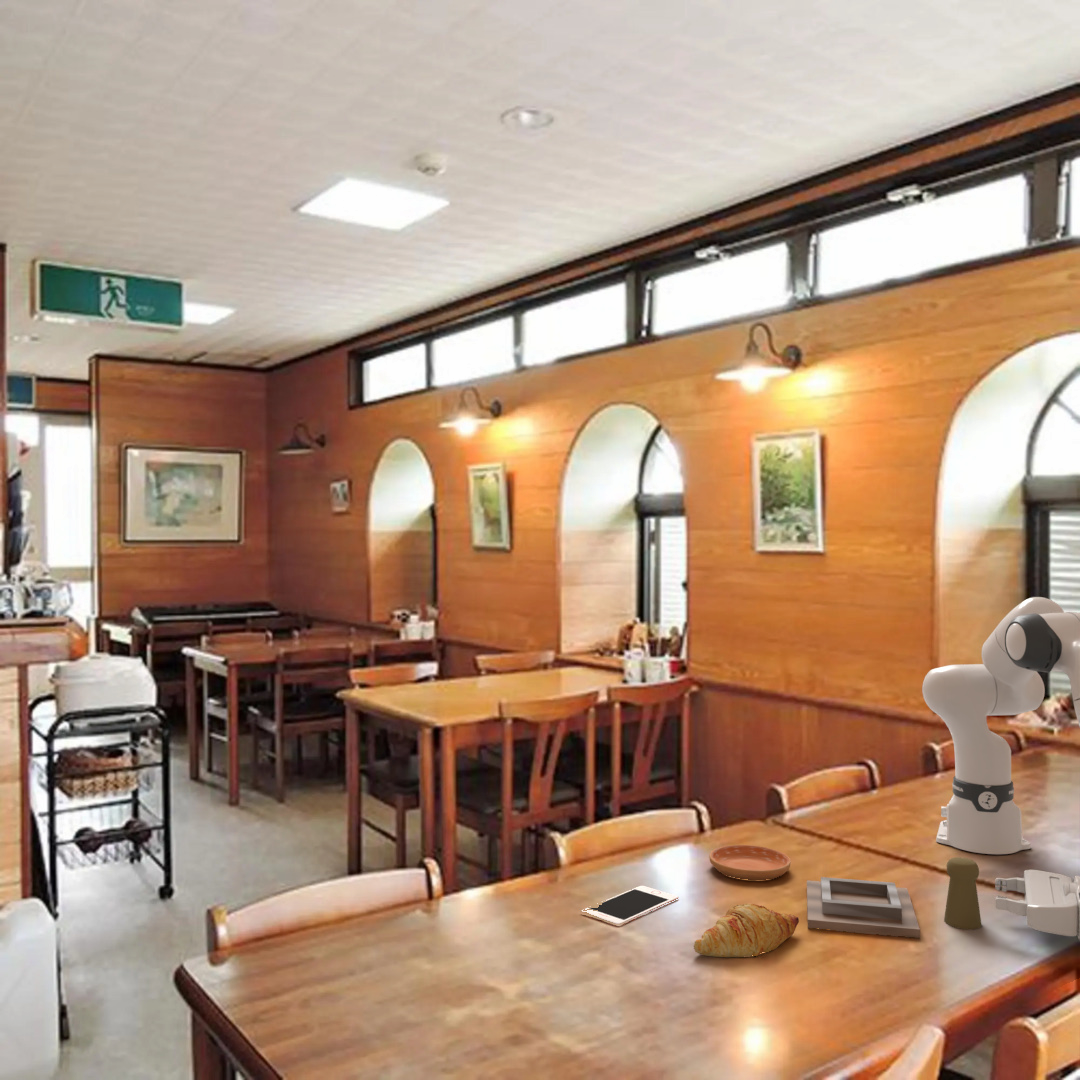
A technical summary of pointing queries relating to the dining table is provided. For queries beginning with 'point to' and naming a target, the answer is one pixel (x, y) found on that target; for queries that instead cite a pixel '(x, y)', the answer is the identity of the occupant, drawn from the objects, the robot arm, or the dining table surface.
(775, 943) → the croissant
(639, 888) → the cell phone
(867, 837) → the dining table surface
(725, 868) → the saucer
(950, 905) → the olive pepper mill
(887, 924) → the square frame holder
